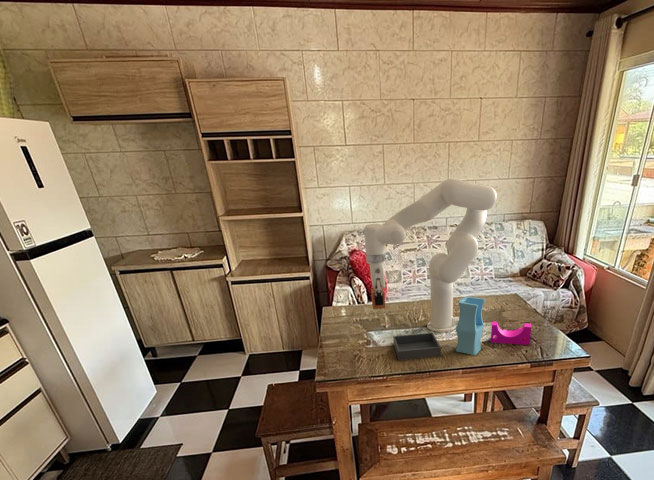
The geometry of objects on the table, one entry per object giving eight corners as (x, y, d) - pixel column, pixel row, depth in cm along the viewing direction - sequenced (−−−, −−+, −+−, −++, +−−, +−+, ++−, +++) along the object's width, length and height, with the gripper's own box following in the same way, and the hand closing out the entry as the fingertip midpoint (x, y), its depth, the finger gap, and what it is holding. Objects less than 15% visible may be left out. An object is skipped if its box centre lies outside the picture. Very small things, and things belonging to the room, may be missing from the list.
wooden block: (384, 304, 171) (383, 288, 167) (385, 308, 166) (384, 291, 163) (372, 305, 170) (371, 288, 167) (373, 309, 166) (372, 292, 162)
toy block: (528, 338, 165) (531, 321, 162) (529, 344, 160) (531, 327, 156) (491, 336, 169) (492, 319, 165) (490, 342, 163) (491, 325, 160)
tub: (432, 341, 166) (432, 332, 164) (440, 356, 154) (440, 347, 152) (393, 345, 164) (393, 336, 163) (398, 360, 152) (398, 351, 150)
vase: (474, 356, 153) (477, 305, 143) (455, 351, 157) (456, 302, 147) (482, 348, 159) (485, 298, 149) (463, 344, 163) (465, 295, 153)
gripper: (387, 262, 151) (390, 309, 160) (383, 252, 166) (385, 295, 175) (367, 263, 151) (371, 310, 159) (364, 253, 165) (367, 296, 174)
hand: (378, 302), depth 167 cm, fingers closed on wooden block, 5 cm apart
